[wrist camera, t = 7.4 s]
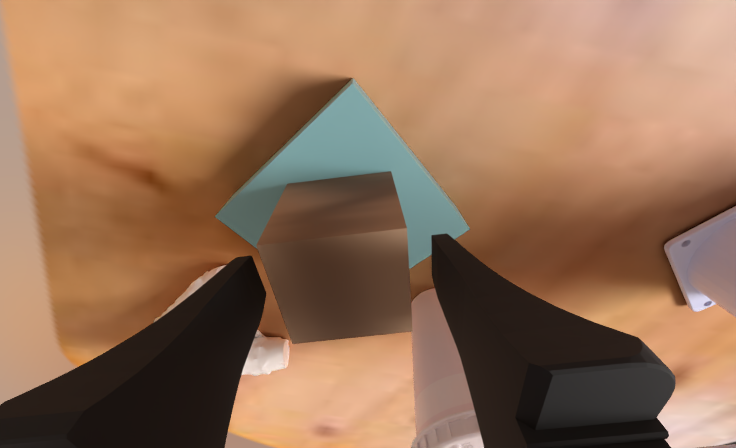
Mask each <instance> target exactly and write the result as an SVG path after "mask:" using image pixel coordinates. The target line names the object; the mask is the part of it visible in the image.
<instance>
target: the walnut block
mask: <svg viewBox="0 0 736 448" xmlns="http://www.w3.org/2000/svg"><path fill="white" fill-rule="evenodd" d="M256 246H257V249H258V252H259V254H260V257H261V260H262V262H263V265H264V268H265V271H266V273H267V276H268V279H269V281H270V284H271V287H272V290H273V292H274V295H275V298H276V300H277V303H278V306H279V309H280V311H281V314H282V317H283V319H284V322H285V325H286V328H287V330H288V333H289V336H290V338H291V341H292V344H297V343H306V342H316V341H326V340H335V339H345V338H354V337H364V336H374V335H383V334H393V333H402V332H412V331H413V327H412V309H411V291H410V274H409V256H408V238H407V226H406V223H405V219H404V216H403V212H402V209H401V205H400V201H399V198H398V194H397V191H396V187H395V183H394V180H393V176H392V173H391V171H389V172H380V173H372V174H364V175H355V176H347V177H339V178H330V179H322V180H314V181H305V182H297V183H289V184H287V185H286V187H285V189H284V191H283V193H282V195H281V197H280V199H279V201H278V203H277V205H276V207H275V209H274V211H273V213H272V215H271V217H270V219H269V221H268V223H267V225H266V227H265V229H264V231H263V233H262V235H261V237H260V239H259V241H258V243H257V245H256Z"/></svg>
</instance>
